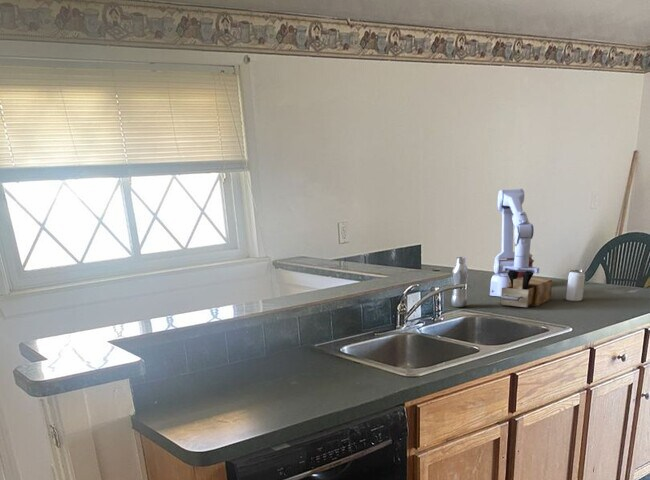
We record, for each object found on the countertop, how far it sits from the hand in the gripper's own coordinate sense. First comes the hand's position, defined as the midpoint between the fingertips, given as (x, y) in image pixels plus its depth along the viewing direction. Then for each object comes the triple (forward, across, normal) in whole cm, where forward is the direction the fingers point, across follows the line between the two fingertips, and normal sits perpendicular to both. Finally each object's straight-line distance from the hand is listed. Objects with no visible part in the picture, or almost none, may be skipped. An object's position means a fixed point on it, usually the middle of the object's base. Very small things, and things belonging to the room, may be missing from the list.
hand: (519, 289), depth 266 cm
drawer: (+6, 0, 0) cm, 6 cm away
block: (+2, 0, 0) cm, 2 cm away
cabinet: (+7, 0, +11) cm, 13 cm away
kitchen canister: (+7, -18, +39) cm, 43 cm away
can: (+7, +15, +22) cm, 27 cm away
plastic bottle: (+7, -20, -13) cm, 25 cm away
